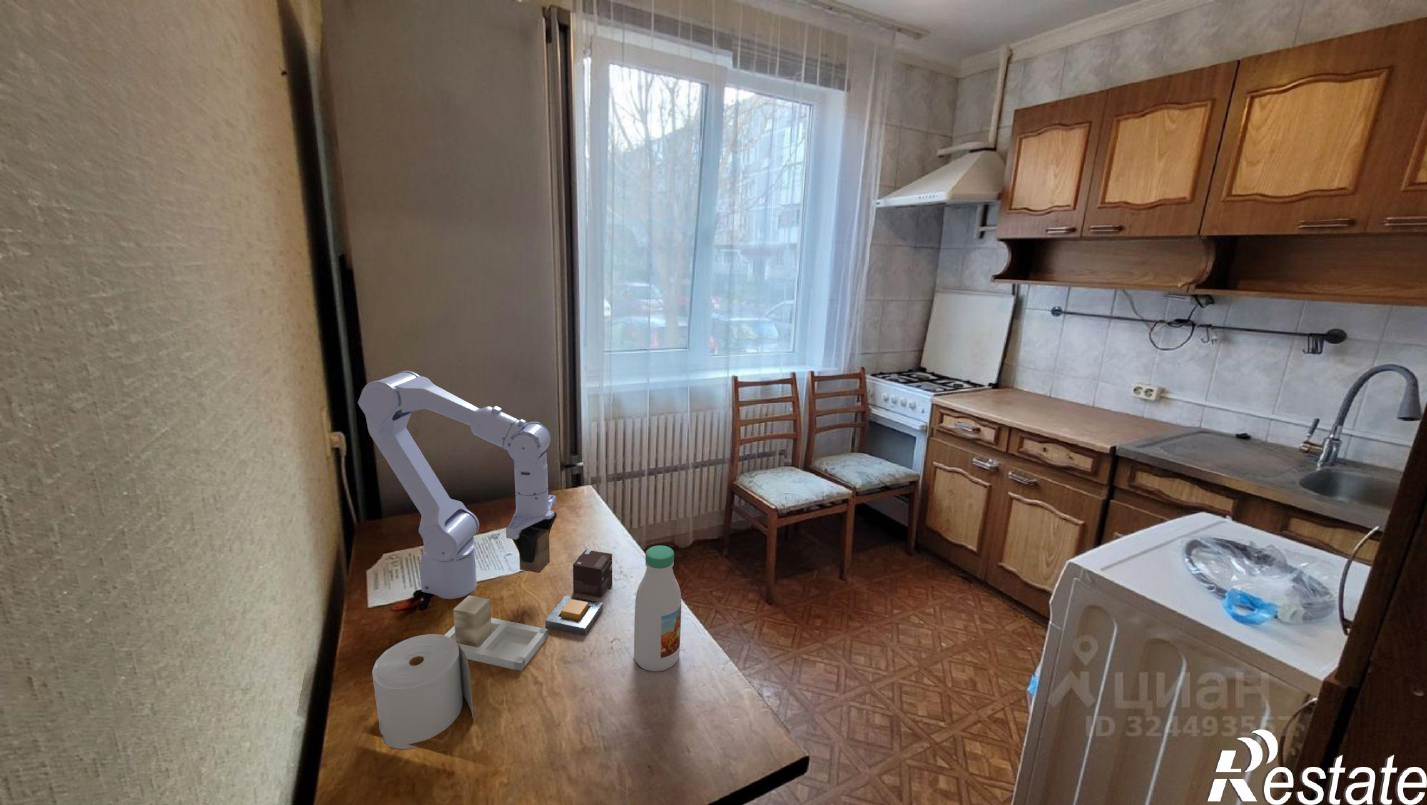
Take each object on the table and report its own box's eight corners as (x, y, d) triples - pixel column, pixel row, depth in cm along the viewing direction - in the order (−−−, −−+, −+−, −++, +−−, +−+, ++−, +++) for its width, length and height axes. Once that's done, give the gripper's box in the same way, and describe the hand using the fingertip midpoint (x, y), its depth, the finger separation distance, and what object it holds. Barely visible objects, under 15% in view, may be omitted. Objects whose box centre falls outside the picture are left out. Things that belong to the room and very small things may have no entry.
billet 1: (456, 645, 91) (453, 609, 89) (471, 630, 95) (468, 595, 93) (477, 650, 90) (474, 613, 89) (491, 634, 94) (489, 599, 92)
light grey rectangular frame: (436, 656, 90) (434, 644, 89) (468, 624, 98) (467, 612, 97) (521, 676, 87) (521, 663, 86) (548, 641, 95) (547, 629, 94)
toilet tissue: (385, 700, 81) (377, 643, 78) (473, 679, 86) (469, 624, 83) (374, 760, 72) (366, 698, 69) (474, 733, 76) (469, 673, 74)
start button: (561, 625, 98) (560, 610, 98) (570, 612, 102) (570, 598, 101) (579, 628, 98) (579, 614, 97) (588, 616, 101) (588, 602, 100)
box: (601, 602, 106) (601, 569, 104) (572, 597, 107) (571, 564, 105) (613, 585, 112) (613, 553, 110) (585, 580, 113) (585, 548, 111)
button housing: (545, 632, 97) (545, 620, 96) (565, 606, 104) (565, 595, 103) (585, 640, 95) (585, 628, 95) (602, 614, 103) (602, 602, 102)
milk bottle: (643, 678, 88) (645, 569, 82) (627, 648, 94) (629, 544, 89) (686, 664, 91) (691, 558, 86) (668, 636, 98) (672, 536, 93)
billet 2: (519, 569, 103) (518, 536, 101) (531, 558, 107) (529, 526, 105) (539, 573, 102) (538, 539, 100) (549, 561, 106) (548, 529, 104)
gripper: (530, 509, 93) (533, 579, 96) (569, 477, 106) (570, 539, 110) (493, 503, 94) (497, 572, 98) (536, 472, 108) (538, 534, 111)
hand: (534, 554), depth 104 cm, fingers closed on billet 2, 4 cm apart
